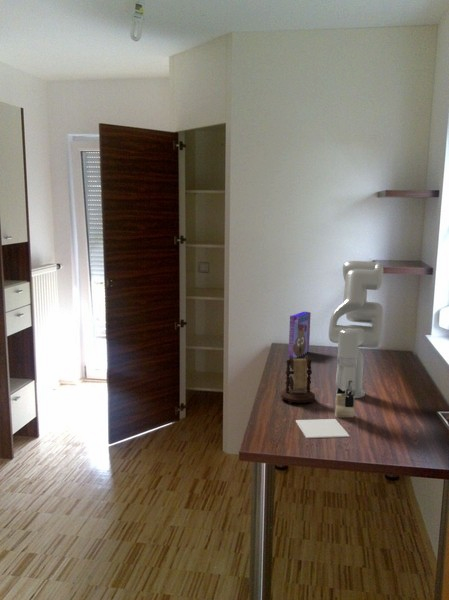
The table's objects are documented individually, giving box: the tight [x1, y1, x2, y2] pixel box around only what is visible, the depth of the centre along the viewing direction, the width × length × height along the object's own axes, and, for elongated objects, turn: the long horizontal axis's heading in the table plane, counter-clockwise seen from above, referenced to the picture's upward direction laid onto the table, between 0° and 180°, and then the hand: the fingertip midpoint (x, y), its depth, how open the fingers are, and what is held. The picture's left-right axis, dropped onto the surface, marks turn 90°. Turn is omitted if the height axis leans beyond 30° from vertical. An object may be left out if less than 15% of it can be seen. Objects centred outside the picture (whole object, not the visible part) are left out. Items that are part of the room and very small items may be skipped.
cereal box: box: [288, 311, 312, 359], centre depth 303 cm, size 17×5×24 cm, turn 147°
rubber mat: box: [295, 418, 350, 439], centre depth 198 cm, size 16×16×1 cm
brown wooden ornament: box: [280, 354, 316, 405], centre depth 228 cm, size 15×15×20 cm
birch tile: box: [334, 393, 356, 418], centre depth 211 cm, size 3×7×9 cm, turn 96°
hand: (344, 402), depth 210 cm, fingers open, 9 cm apart
